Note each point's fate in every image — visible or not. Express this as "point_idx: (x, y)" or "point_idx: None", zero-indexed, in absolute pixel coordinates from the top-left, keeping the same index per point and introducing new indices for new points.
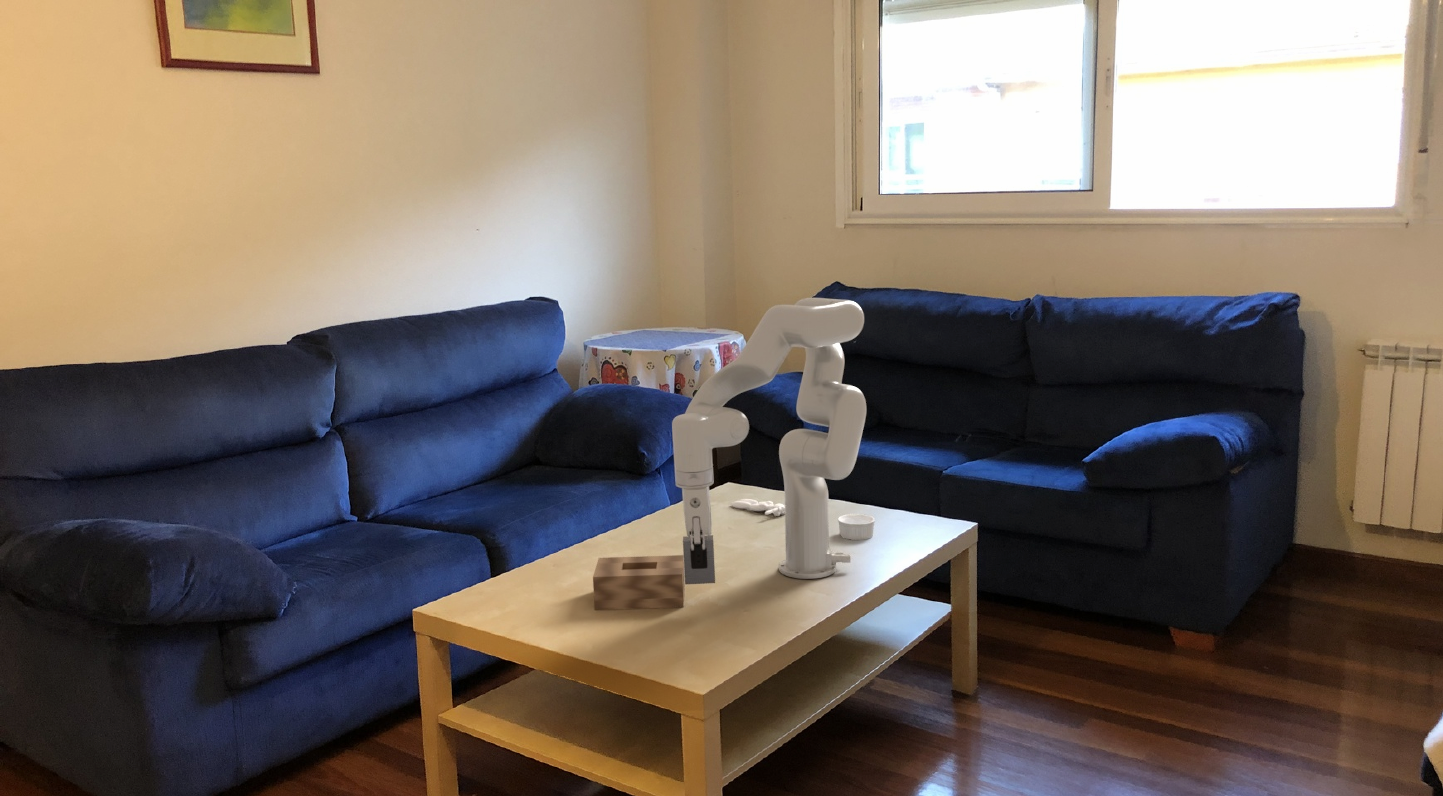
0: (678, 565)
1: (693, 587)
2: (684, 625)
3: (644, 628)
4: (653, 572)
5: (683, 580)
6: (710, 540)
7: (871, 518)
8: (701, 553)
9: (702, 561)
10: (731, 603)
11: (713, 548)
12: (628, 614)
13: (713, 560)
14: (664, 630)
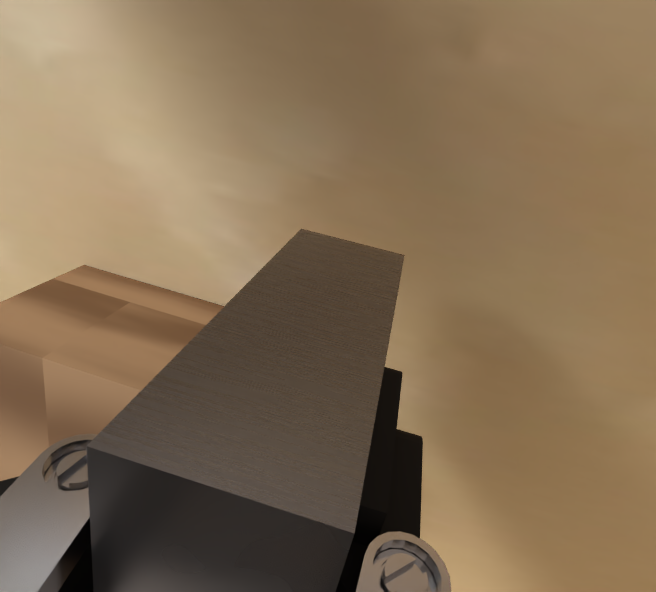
0: (110, 400)
1: (95, 231)
2: (527, 386)
3: (486, 515)
4: None
5: (147, 326)
6: (341, 558)
7: None
8: (414, 535)
9: (420, 459)
10: (329, 101)
11: (373, 423)
12: None
13: (387, 341)
14: (543, 466)
